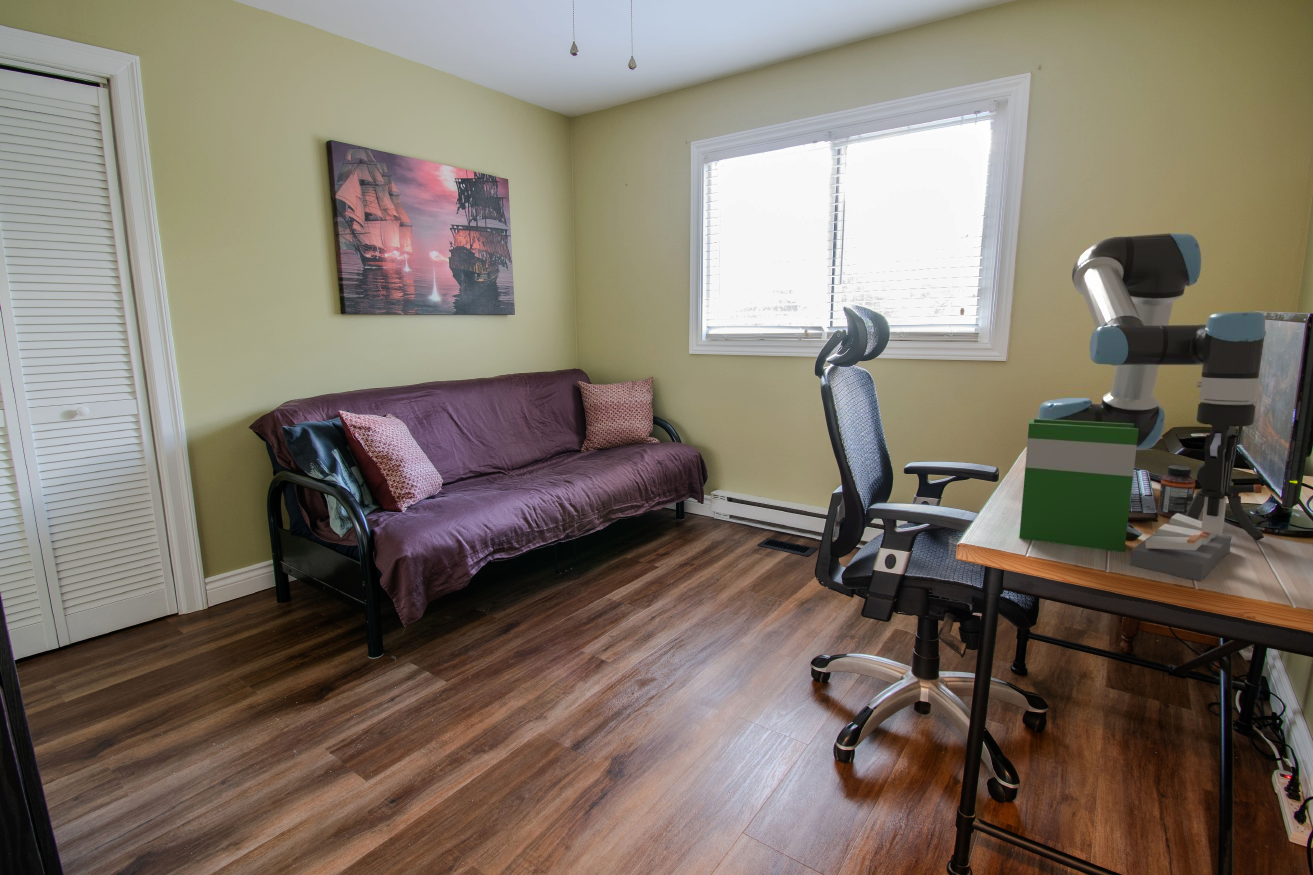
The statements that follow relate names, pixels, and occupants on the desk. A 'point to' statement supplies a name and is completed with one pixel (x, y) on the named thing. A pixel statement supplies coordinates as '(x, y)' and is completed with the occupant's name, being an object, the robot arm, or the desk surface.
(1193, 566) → the rocker switch box
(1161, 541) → the rocker
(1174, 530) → the middle rocker
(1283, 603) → the desk surface
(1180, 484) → the supplement bottle
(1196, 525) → the rocker
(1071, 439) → the hardback book
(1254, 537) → the hand grip strengthener
